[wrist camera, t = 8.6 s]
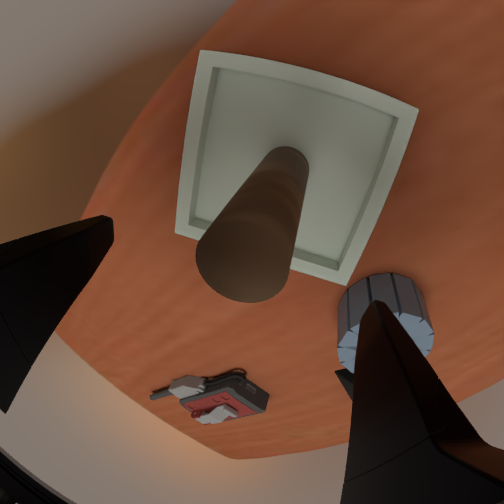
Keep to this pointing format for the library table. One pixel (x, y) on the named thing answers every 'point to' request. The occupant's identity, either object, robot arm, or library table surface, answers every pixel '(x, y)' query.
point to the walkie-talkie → (217, 397)
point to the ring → (400, 303)
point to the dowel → (256, 230)
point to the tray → (301, 138)
